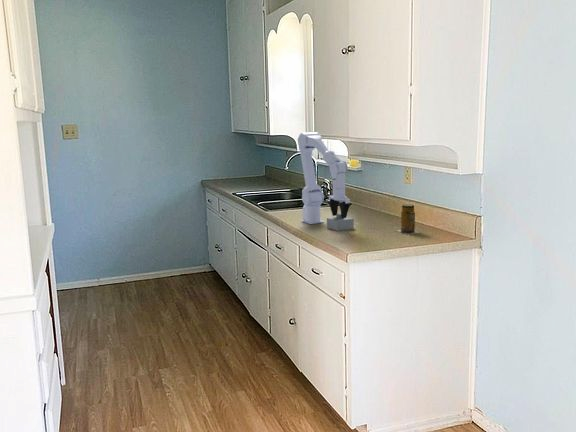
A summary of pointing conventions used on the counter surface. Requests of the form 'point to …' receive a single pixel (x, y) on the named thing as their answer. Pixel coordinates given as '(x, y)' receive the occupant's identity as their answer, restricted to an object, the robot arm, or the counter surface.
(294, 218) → the counter surface
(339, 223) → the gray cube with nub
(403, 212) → the condiment
